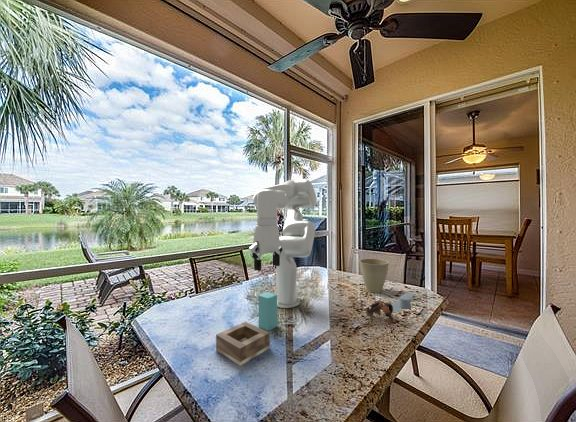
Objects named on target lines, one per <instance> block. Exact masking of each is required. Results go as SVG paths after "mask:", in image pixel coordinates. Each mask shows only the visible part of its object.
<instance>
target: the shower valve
mask: <svg viewBox="0 0 576 422" xmlns="http://www.w3.org/2000/svg"><path fill="white" fill-rule="evenodd" d="M414 295H415V294H414V293H411V292H407V293H405V294H403V295H401V296H399V301H397V300H395V301H393V302H392V303H390V304H391V305H392V306H393V311H397V312H400V311H401V309H411V305H412V302H413V300H412V299H413V298H414ZM400 308H401V309H400Z"/></svg>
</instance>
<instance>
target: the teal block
mask: <svg viewBox="0 0 576 422" xmlns="http://www.w3.org/2000/svg"><path fill="white" fill-rule="evenodd" d="M276 327H278V307H277V295H276V293H274V292H273V293H272V292H269V291H267V292H264V293H261V294H259V295H258V328H261V329H263V330H265V331H267V332H270V331H271V330H273V329H274V328H276Z"/></svg>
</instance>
